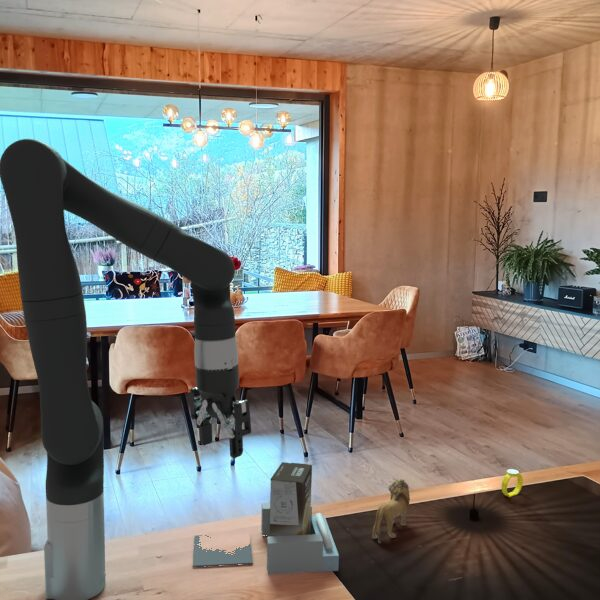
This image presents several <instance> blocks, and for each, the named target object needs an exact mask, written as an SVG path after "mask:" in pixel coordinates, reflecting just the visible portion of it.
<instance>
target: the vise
mask: <svg viewBox="0 0 600 600" xmlns="http://www.w3.org/2000/svg"><path fill="white" fill-rule="evenodd" d="M260 526H261V531H262V532H261V536H262V535H265V536H266V535H267V536H268V537H266V541H267V542H266V570H267V575H284V574H286V575H287V574H303V573H318V572H319V573H321V572H322V573H323V572H339V567H340V566H339V565H340V564H339V563H340V562H339V561H340V560H339V559H340V555H339V551H338V549H337V547H336V544H335V541H334V538H333V536H332V533H331V530H330V528H329V524H328V521H327V519H326V516H325V514H322V513H320V512H318V513H315V514H313V506H312V504H311V517H310V535H290V536H270V502H262V503H261V524H260Z"/></svg>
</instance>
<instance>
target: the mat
mask: <svg viewBox="0 0 600 600" xmlns="http://www.w3.org/2000/svg"><path fill="white" fill-rule="evenodd" d="M202 535H203V534H202ZM202 535H198V534H197V535H194V540H193V541H194V543H193V556H192V558H193V559H192V568H193V567H197V568H209V567H208V566H217V567H220V566H219V565H237V566H239V565H238V564H243V565H242V566H246V565H245V564H253V565H254V561H253V552H252V551H253V550H252V544H251V545H250V544H249V545H248V546H245V547H243V548H240V547H239V548H238V549H237V548H236V550H234V551H235V552H234V551H232V552H234V553H235V554H234V553H231V552H228V553H231V554H233V555H231V554H228V553H227V554H225V553H226V552H224V551H226V550H222V551H221V550H219V549H216V550H215V551H212V550H210V549H209V550H206V549H207V548H206V549H203V550H202V547H201V546H199V545H197V544H199V543H201V542H199V540H200V539H199V538H200V537H199V536H202ZM204 535H205V536H207V535H208V534H204ZM207 537H209V536H207ZM210 538H211V537H210ZM194 544H195V545H194ZM200 545H201V544H200ZM199 547H200V548H199ZM211 549H212V548H211ZM240 549H241V550H240ZM206 551H207V552H206ZM219 551H221V552H219ZM204 566H206V567H204Z"/></svg>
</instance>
